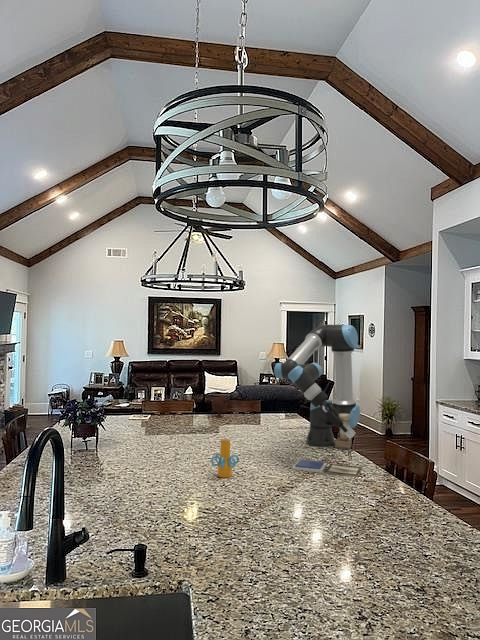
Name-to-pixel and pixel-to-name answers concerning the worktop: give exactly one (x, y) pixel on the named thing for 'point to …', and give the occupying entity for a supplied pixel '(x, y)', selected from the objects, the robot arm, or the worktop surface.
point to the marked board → (343, 470)
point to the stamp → (343, 440)
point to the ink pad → (310, 466)
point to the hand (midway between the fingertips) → (352, 436)
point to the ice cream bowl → (219, 405)
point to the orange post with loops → (225, 460)
